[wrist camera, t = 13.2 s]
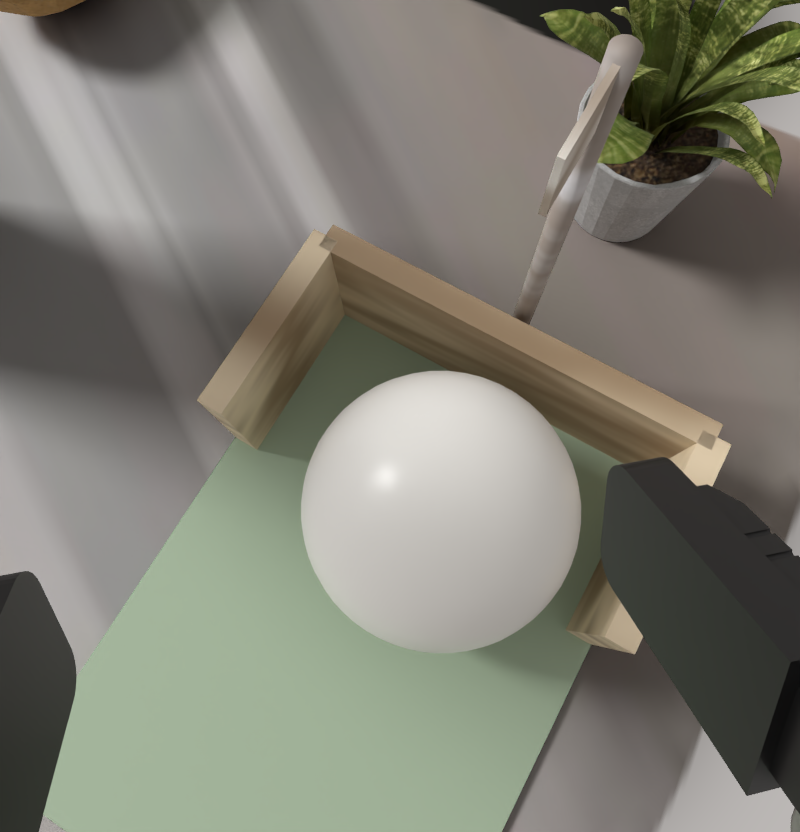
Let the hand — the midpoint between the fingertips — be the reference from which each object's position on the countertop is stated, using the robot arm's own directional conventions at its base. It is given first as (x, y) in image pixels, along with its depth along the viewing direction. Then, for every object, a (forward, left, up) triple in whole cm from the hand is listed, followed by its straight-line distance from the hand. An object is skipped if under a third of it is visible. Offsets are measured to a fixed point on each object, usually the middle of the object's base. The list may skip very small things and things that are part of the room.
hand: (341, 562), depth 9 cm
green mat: (-1, -1, -23) cm, 23 cm away
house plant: (+12, +20, -23) cm, 33 cm away
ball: (+2, +3, -17) cm, 18 cm away
